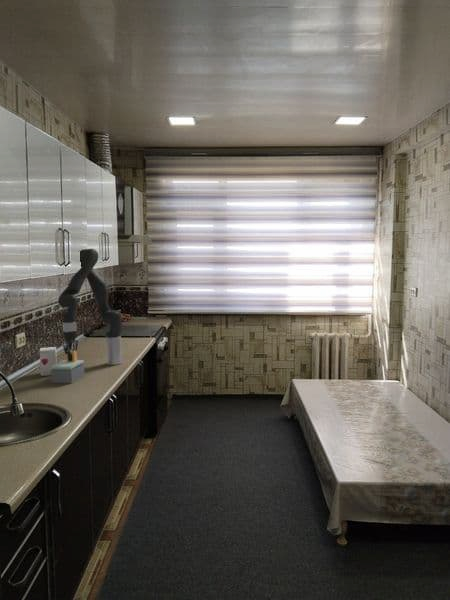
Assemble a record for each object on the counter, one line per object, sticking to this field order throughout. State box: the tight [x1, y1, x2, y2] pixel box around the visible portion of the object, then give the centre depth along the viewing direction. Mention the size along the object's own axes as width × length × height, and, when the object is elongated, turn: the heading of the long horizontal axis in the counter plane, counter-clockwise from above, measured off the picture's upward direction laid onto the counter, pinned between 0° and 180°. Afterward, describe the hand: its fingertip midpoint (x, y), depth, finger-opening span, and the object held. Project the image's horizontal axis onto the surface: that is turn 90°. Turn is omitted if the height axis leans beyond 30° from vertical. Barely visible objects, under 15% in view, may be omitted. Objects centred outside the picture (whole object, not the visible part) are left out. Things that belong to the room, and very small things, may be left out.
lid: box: [51, 350, 85, 370], centre depth 288 cm, size 15×12×8 cm
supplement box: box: [39, 346, 58, 377], centre depth 303 cm, size 9×9×15 cm
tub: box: [50, 363, 85, 384], centre depth 288 cm, size 15×12×7 cm
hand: (71, 359), depth 293 cm, fingers closed on lid, 3 cm apart
